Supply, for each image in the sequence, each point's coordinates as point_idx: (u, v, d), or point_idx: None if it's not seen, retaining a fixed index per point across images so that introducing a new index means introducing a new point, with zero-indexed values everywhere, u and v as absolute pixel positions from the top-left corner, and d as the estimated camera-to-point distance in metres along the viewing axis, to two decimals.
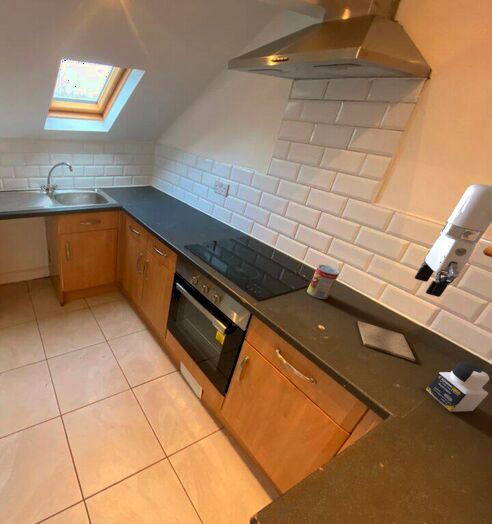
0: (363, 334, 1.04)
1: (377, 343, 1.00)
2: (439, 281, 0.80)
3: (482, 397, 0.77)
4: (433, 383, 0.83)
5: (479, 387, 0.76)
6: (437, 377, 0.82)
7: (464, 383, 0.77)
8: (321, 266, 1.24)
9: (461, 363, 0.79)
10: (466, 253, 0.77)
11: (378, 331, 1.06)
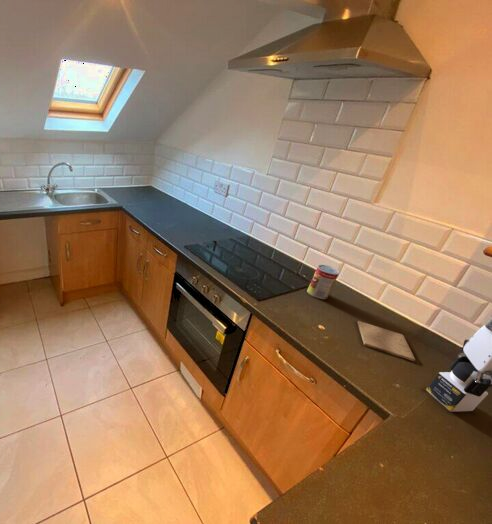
0: (363, 334, 1.04)
1: (377, 343, 1.00)
2: (480, 382, 0.73)
3: (482, 397, 0.77)
4: (433, 383, 0.83)
5: None
6: (437, 377, 0.82)
7: (464, 383, 0.77)
8: (321, 266, 1.24)
9: (461, 363, 0.79)
10: None
11: (378, 331, 1.06)
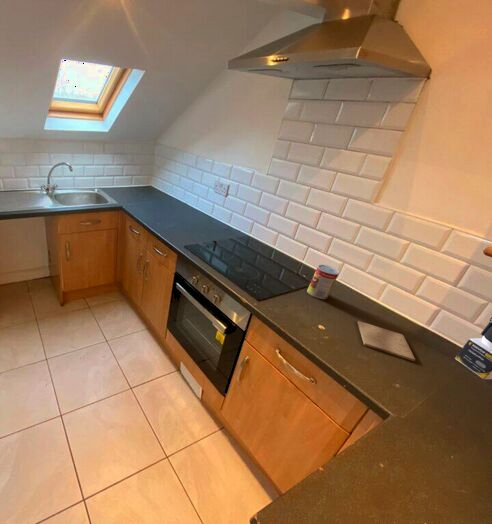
0: (363, 334, 1.04)
1: (377, 343, 1.00)
2: None
3: None
4: (463, 351, 0.77)
5: None
6: (468, 344, 0.76)
7: None
8: (321, 266, 1.24)
9: None
10: None
11: (378, 331, 1.06)
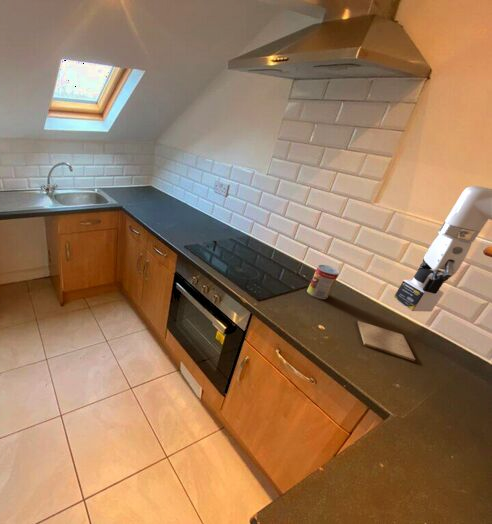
0: (363, 334, 1.04)
1: (377, 343, 1.00)
2: (435, 279, 0.85)
3: (438, 296, 0.89)
4: (398, 290, 0.95)
5: None
6: (402, 284, 0.94)
7: (423, 284, 0.89)
8: (321, 266, 1.24)
9: (421, 269, 0.91)
10: (463, 251, 0.81)
11: (378, 331, 1.06)
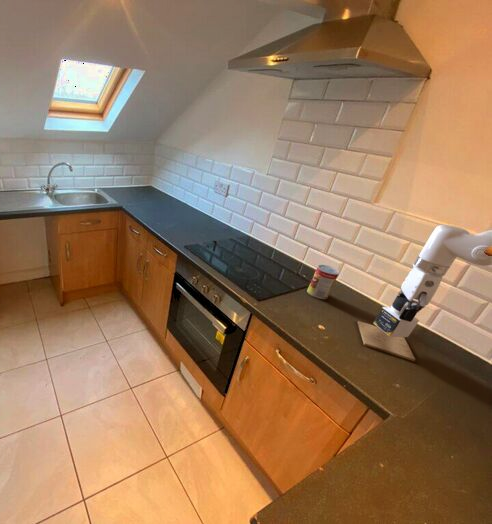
0: (363, 334, 1.04)
1: (377, 343, 1.00)
2: (410, 308, 0.92)
3: (414, 324, 0.96)
4: (378, 316, 1.02)
5: None
6: (381, 311, 1.01)
7: (399, 312, 0.96)
8: (321, 266, 1.24)
9: (398, 297, 0.98)
10: (434, 285, 0.87)
11: (378, 331, 1.06)
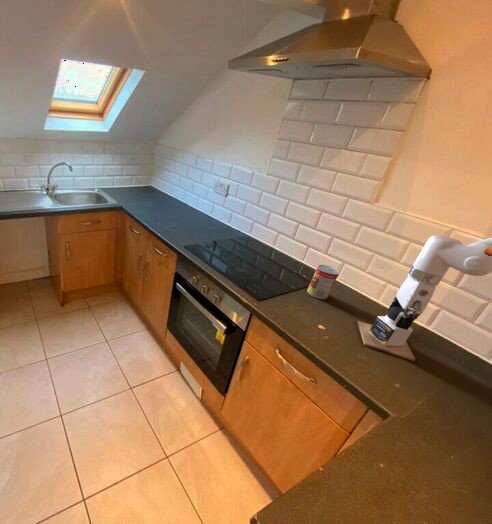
0: (363, 334, 1.04)
1: (377, 343, 1.00)
2: (406, 317, 0.92)
3: (408, 333, 0.98)
4: (373, 325, 1.04)
5: None
6: (376, 320, 1.03)
7: (394, 322, 0.97)
8: (321, 266, 1.24)
9: (393, 307, 0.99)
10: (428, 294, 0.89)
11: None
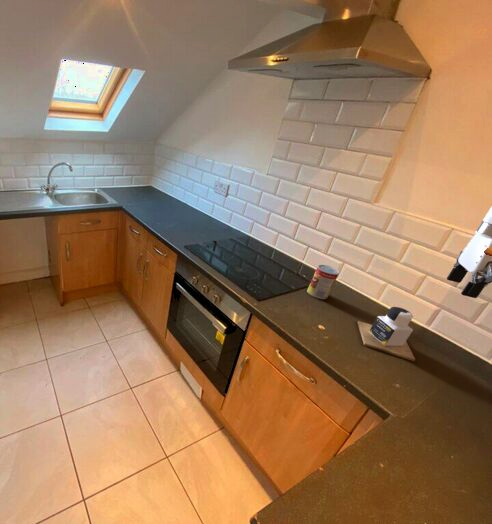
0: (363, 334, 1.04)
1: (377, 343, 1.00)
2: (476, 282, 0.78)
3: (408, 333, 0.98)
4: (373, 325, 1.04)
5: (405, 324, 0.96)
6: (376, 320, 1.03)
7: (394, 322, 0.97)
8: (321, 266, 1.24)
9: (393, 307, 0.99)
10: None
11: None
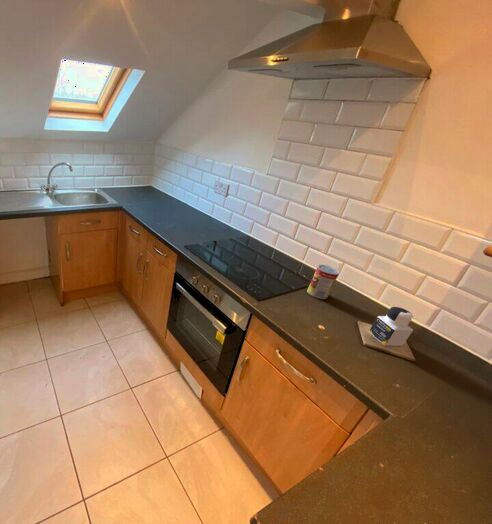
0: (363, 334, 1.04)
1: (377, 343, 1.00)
2: None
3: (408, 333, 0.98)
4: (373, 325, 1.04)
5: (405, 324, 0.96)
6: (376, 320, 1.03)
7: (394, 322, 0.97)
8: (321, 266, 1.24)
9: (393, 307, 0.99)
10: None
11: None
